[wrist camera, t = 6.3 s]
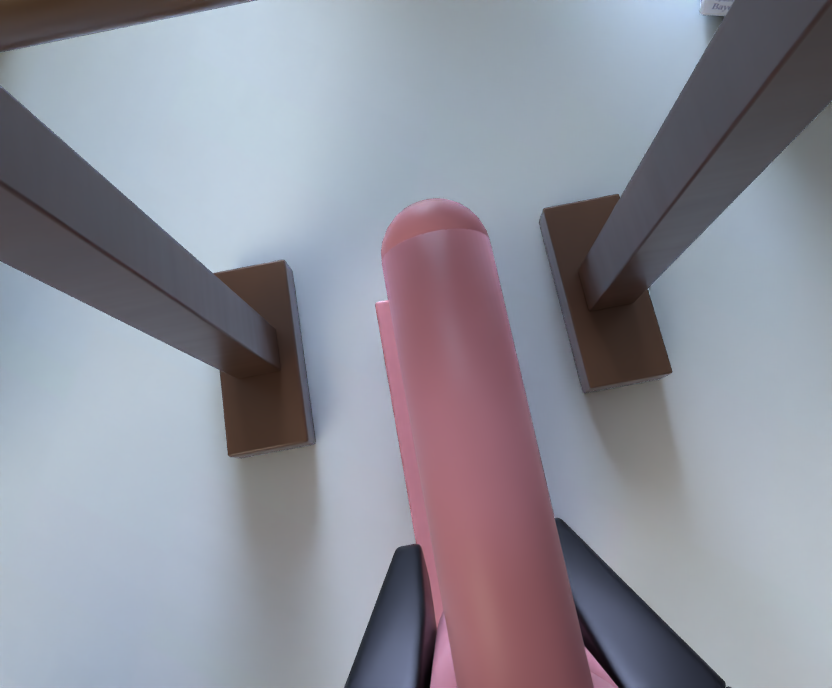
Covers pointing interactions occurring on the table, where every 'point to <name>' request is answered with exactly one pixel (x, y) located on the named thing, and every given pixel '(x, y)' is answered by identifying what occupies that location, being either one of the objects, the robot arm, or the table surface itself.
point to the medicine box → (715, 7)
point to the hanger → (474, 462)
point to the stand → (273, 282)
